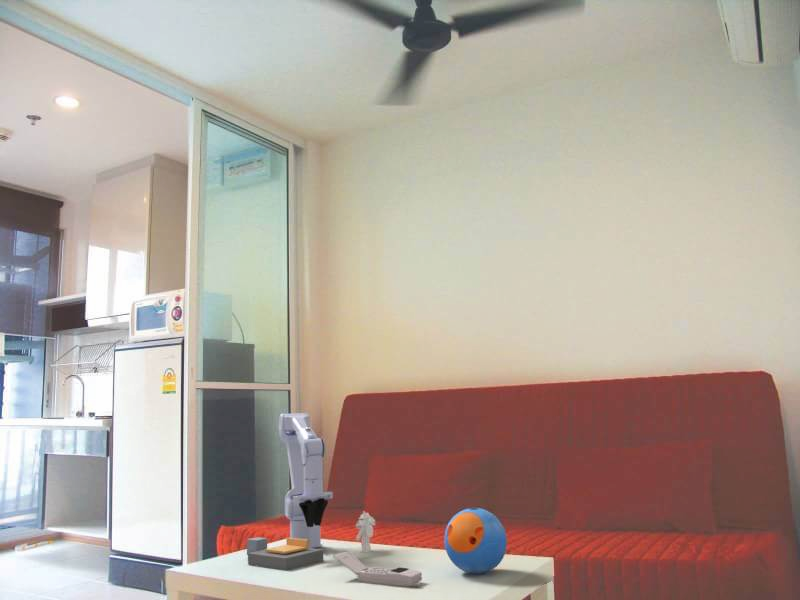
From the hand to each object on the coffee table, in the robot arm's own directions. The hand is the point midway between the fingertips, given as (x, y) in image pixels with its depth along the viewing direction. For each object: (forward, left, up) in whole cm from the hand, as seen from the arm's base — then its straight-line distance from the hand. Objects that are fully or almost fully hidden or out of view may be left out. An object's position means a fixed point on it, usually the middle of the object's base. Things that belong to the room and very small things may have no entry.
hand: (313, 526), depth 191 cm
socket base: (+11, 0, -8) cm, 14 cm away
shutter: (+10, 0, -5) cm, 12 cm away
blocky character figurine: (-13, +9, -9) cm, 18 cm away
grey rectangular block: (+10, -14, -8) cm, 19 cm away
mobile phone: (+15, +39, -9) cm, 43 cm away
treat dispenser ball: (-3, +55, -9) cm, 56 cm away
